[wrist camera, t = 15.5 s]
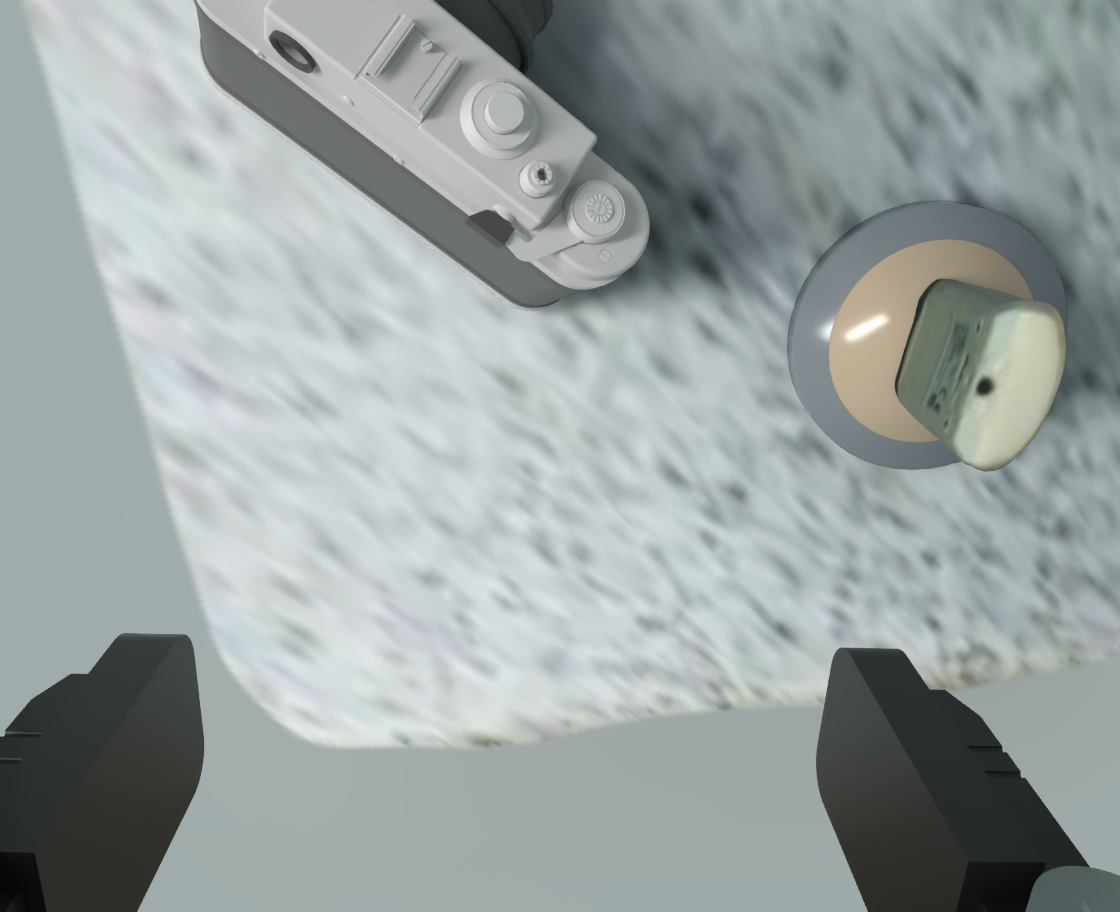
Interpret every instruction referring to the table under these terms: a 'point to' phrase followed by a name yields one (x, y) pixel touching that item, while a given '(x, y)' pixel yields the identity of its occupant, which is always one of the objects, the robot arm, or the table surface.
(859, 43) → the table surface
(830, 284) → the coaster
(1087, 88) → the table surface
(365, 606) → the table surface
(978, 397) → the off-white rounded piece
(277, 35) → the camera
